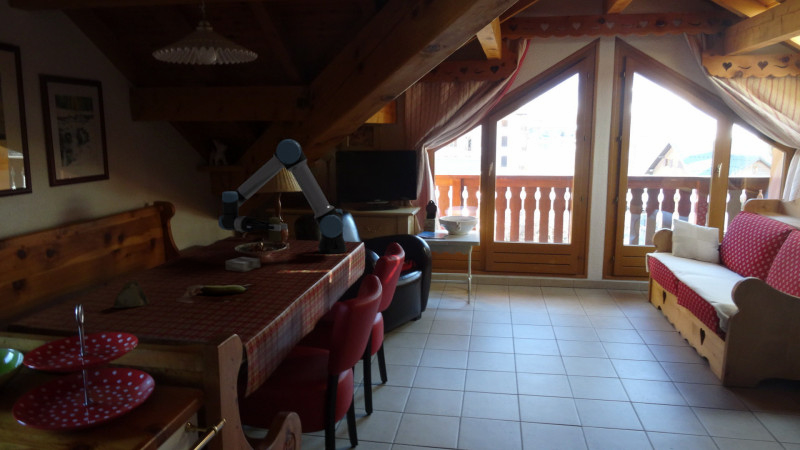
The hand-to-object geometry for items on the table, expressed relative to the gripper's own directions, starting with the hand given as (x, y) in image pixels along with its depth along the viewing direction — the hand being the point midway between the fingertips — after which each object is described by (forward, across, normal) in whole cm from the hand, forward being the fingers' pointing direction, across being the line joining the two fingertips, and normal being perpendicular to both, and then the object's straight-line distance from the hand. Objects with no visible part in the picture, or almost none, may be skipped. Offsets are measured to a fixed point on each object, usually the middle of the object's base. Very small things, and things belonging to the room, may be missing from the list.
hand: (283, 227), depth 256 cm
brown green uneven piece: (+10, +48, -19) cm, 53 cm away
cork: (-5, 0, -7) cm, 9 cm away
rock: (-8, +76, -19) cm, 79 cm away
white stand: (-14, +13, -19) cm, 27 cm away
